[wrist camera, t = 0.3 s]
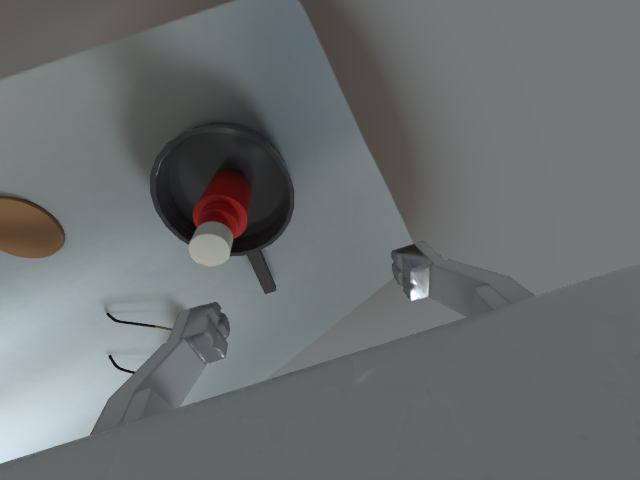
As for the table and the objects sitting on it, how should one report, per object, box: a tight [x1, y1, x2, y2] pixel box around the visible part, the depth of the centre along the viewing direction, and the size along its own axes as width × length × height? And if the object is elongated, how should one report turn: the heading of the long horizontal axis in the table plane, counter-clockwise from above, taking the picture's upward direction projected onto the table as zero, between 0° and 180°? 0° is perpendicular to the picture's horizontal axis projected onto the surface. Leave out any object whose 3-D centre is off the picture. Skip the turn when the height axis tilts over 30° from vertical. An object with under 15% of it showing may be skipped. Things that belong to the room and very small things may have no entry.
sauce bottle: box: [188, 170, 251, 266], centre depth 28 cm, size 6×6×16 cm
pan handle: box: [247, 250, 276, 294], centre depth 40 cm, size 9×2×1 cm, turn 12°
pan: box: [150, 123, 294, 256], centre depth 33 cm, size 17×17×5 cm
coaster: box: [0, 197, 65, 258], centre depth 32 cm, size 9×9×1 cm
